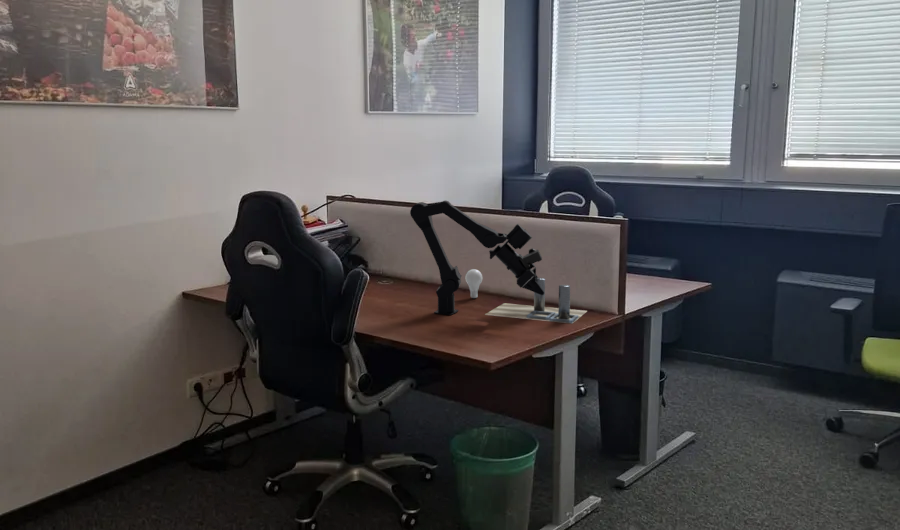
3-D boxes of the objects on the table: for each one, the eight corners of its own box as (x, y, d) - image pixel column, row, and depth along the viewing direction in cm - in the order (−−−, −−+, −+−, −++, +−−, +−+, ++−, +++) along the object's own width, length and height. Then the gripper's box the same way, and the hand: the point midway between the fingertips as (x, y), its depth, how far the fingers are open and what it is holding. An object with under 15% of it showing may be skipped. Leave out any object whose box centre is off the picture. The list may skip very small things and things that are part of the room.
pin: (542, 312, 251) (543, 280, 249) (532, 311, 252) (532, 279, 250) (546, 310, 254) (546, 278, 252) (535, 309, 256) (536, 277, 254)
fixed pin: (567, 321, 239) (568, 287, 237) (556, 320, 241) (557, 286, 239) (571, 318, 242) (571, 285, 240) (560, 317, 244) (560, 284, 242)
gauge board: (572, 327, 237) (572, 320, 236) (484, 318, 249) (484, 312, 249) (587, 314, 253) (587, 308, 252) (504, 306, 265) (504, 301, 265)
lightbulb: (482, 300, 275) (482, 270, 273) (465, 300, 275) (465, 270, 274) (482, 296, 282) (482, 267, 280) (465, 296, 282) (465, 267, 280)
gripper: (527, 246, 241) (561, 280, 241) (528, 238, 259) (560, 269, 259) (502, 270, 243) (536, 304, 243) (505, 260, 261) (537, 291, 262)
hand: (543, 291), depth 252 cm, fingers open, 8 cm apart
